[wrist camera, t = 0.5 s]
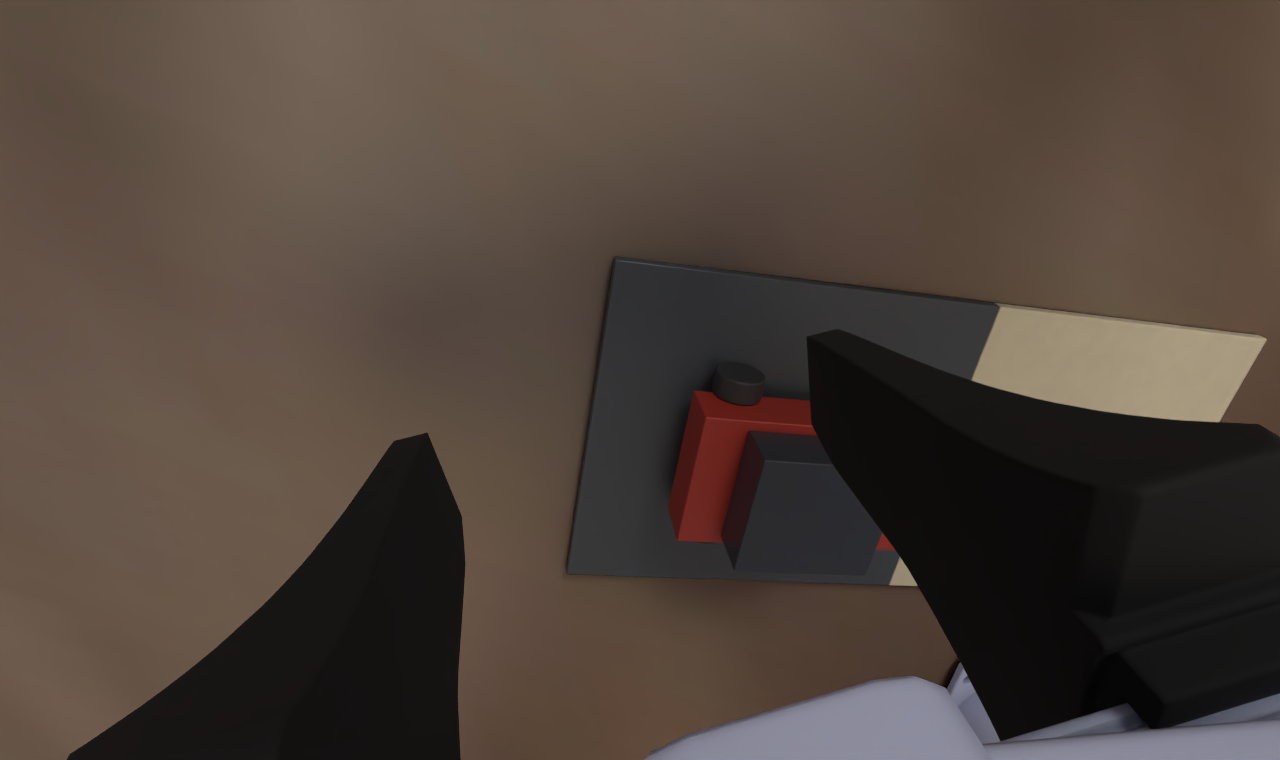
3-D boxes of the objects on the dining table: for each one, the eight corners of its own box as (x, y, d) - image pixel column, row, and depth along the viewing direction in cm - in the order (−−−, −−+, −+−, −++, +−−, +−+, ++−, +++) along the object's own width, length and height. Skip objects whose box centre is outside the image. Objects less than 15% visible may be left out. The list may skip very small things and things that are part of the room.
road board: (1113, 587, 31) (1120, 593, 31) (565, 567, 27) (566, 574, 26) (1258, 334, 26) (1267, 339, 26) (614, 255, 22) (615, 259, 21)
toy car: (864, 525, 27) (917, 604, 24) (659, 514, 26) (682, 598, 22) (917, 379, 25) (987, 442, 21) (693, 357, 23) (725, 422, 19)
